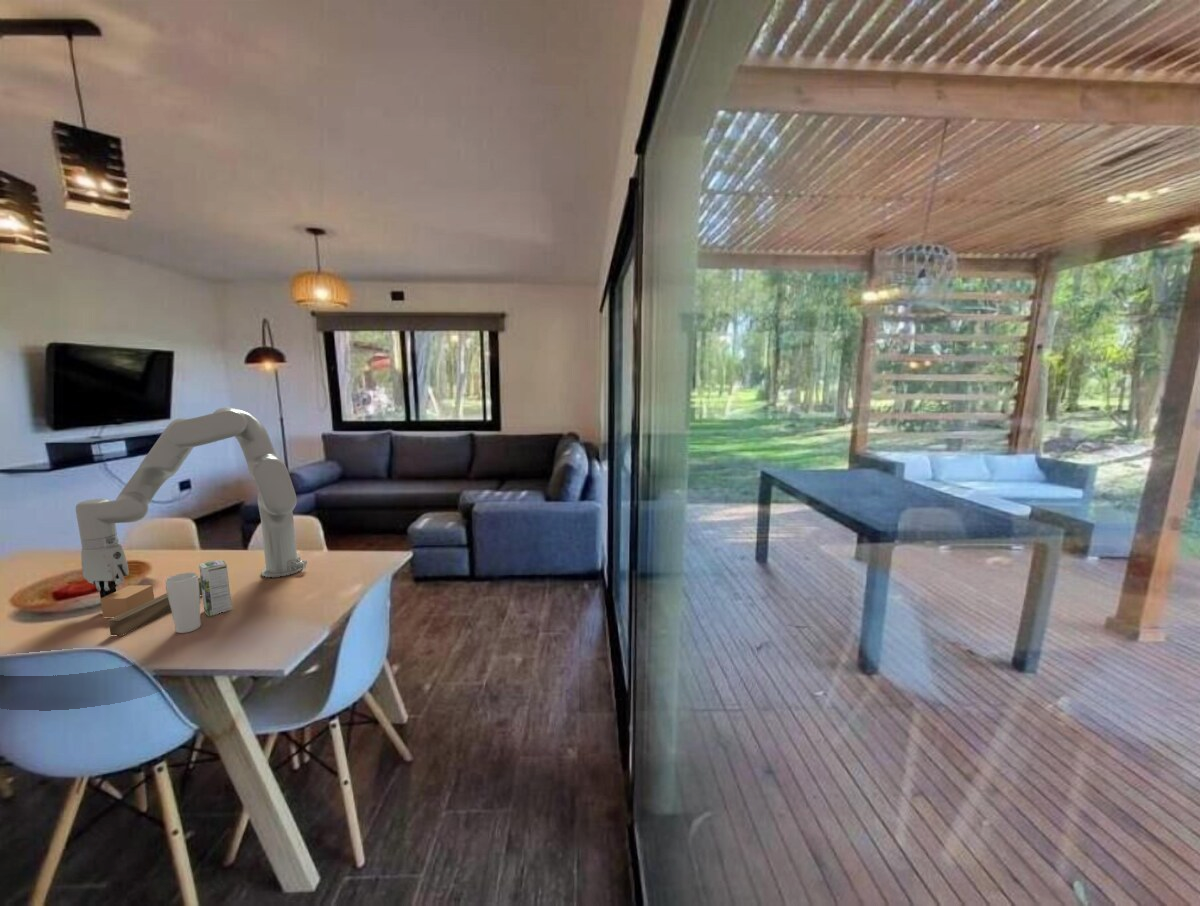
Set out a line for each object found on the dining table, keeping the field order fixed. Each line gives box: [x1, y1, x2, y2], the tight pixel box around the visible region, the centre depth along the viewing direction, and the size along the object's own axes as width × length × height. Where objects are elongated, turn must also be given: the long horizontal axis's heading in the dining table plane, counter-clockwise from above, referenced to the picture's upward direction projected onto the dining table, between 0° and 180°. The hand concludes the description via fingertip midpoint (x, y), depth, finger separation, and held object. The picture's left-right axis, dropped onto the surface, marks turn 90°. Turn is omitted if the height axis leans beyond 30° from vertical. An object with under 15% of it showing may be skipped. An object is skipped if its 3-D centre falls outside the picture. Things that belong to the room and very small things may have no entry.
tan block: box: [99, 584, 155, 618], centre depth 149 cm, size 7×9×6 cm
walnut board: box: [107, 577, 202, 637], centre depth 148 cm, size 3×28×4 cm, turn 175°
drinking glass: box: [165, 572, 202, 634], centre depth 137 cm, size 7×7×15 cm
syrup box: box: [198, 559, 232, 617], centre depth 148 cm, size 6×6×14 cm
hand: (109, 601), depth 150 cm, fingers closed
